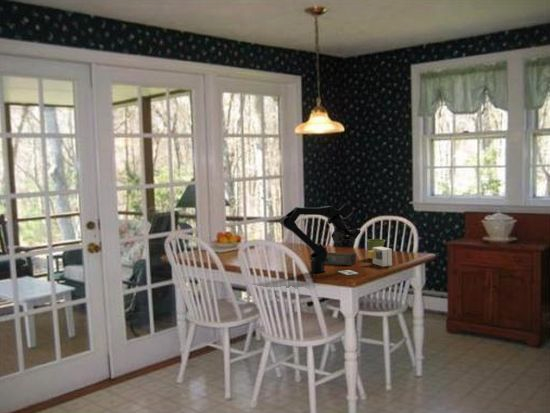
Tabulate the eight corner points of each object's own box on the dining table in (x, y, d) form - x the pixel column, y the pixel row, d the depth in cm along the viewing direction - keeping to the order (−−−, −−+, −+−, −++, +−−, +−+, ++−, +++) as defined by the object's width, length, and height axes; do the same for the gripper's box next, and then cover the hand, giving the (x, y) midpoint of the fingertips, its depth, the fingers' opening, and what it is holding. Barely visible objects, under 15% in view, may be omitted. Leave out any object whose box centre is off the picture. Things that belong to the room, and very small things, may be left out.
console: (383, 266, 323) (382, 250, 322) (372, 263, 333) (372, 247, 333) (392, 265, 325) (391, 249, 325) (381, 262, 336) (381, 246, 335)
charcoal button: (379, 259, 323) (379, 252, 323) (376, 258, 326) (376, 251, 326) (386, 258, 325) (386, 251, 325) (382, 257, 328) (382, 251, 328)
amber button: (370, 258, 327) (370, 251, 327) (367, 257, 331) (367, 250, 330) (377, 257, 329) (377, 250, 329) (374, 256, 332) (373, 250, 332)
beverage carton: (326, 261, 346) (326, 251, 345) (356, 263, 337) (356, 252, 336) (321, 264, 339) (321, 253, 338) (352, 265, 330) (352, 254, 329)
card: (346, 275, 303) (346, 273, 303) (338, 271, 312) (337, 270, 312) (358, 273, 306) (358, 272, 306) (349, 270, 315) (349, 269, 315)
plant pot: (385, 260, 343) (385, 241, 342) (365, 260, 345) (365, 241, 344) (385, 256, 354) (385, 238, 353) (366, 256, 357) (366, 238, 356)
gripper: (320, 234, 320) (334, 254, 326) (343, 234, 305) (357, 254, 311) (330, 221, 325) (344, 240, 331) (353, 220, 310) (368, 240, 316)
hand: (353, 244), depth 322 cm, fingers closed
